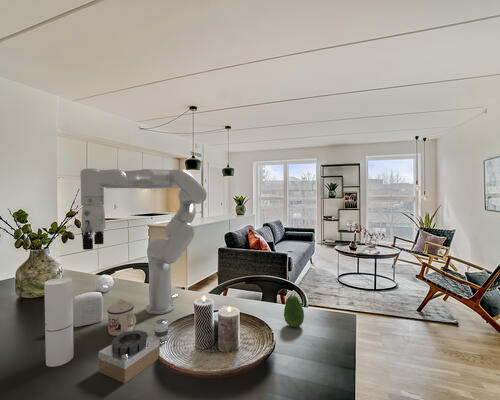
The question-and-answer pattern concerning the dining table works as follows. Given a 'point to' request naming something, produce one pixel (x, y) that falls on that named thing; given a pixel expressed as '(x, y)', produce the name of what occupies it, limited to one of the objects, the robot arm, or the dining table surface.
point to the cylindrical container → (58, 321)
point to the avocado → (293, 312)
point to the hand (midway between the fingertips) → (93, 246)
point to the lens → (161, 330)
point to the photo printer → (87, 309)
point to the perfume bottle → (104, 283)
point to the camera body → (128, 355)
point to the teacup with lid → (120, 318)
